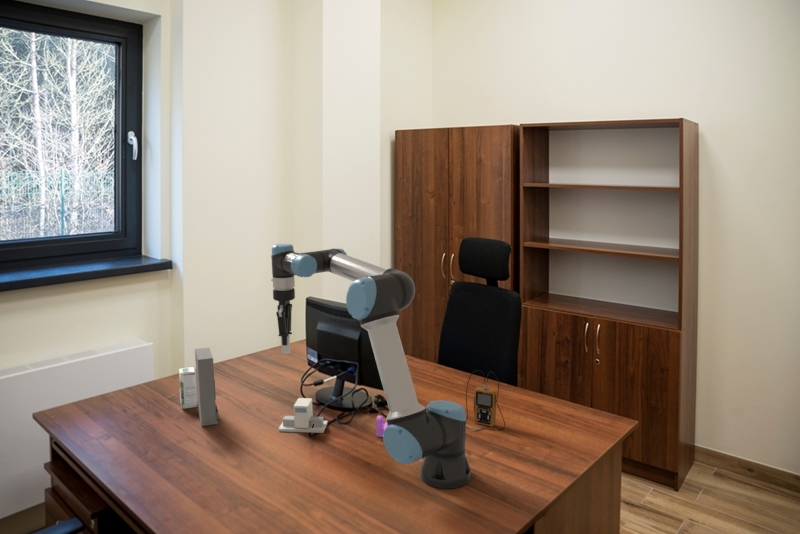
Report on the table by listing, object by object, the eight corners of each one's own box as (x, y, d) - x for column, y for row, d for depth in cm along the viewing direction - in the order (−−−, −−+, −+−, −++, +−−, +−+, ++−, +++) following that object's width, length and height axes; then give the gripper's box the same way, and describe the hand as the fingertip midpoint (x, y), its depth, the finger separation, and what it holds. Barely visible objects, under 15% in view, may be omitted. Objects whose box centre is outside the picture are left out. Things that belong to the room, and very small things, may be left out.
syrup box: (180, 404, 254) (177, 368, 252) (195, 401, 257) (193, 366, 254) (181, 409, 249) (179, 373, 246) (197, 406, 252) (195, 370, 249)
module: (312, 419, 236) (312, 398, 235) (308, 428, 229) (307, 406, 227) (299, 418, 236) (298, 398, 235) (294, 427, 229) (293, 406, 228)
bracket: (391, 439, 224) (391, 419, 223) (376, 436, 226) (375, 417, 224) (403, 424, 236) (403, 406, 235) (389, 422, 238) (389, 404, 236)
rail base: (327, 423, 236) (327, 414, 236) (323, 432, 228) (323, 423, 228) (284, 422, 237) (283, 413, 237) (278, 431, 230) (278, 422, 229)
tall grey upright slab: (219, 424, 236) (215, 357, 231) (201, 426, 233) (197, 360, 229) (214, 410, 248) (211, 347, 244) (198, 412, 246) (194, 348, 242)
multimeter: (456, 429, 231) (457, 375, 228) (467, 418, 240) (468, 367, 236) (496, 437, 225) (497, 382, 221) (505, 426, 233) (507, 373, 230)
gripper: (278, 284, 234) (280, 347, 239) (268, 292, 222) (270, 358, 226) (298, 284, 234) (300, 347, 238) (289, 292, 221) (291, 359, 225)
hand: (285, 353), depth 232 cm, fingers closed
